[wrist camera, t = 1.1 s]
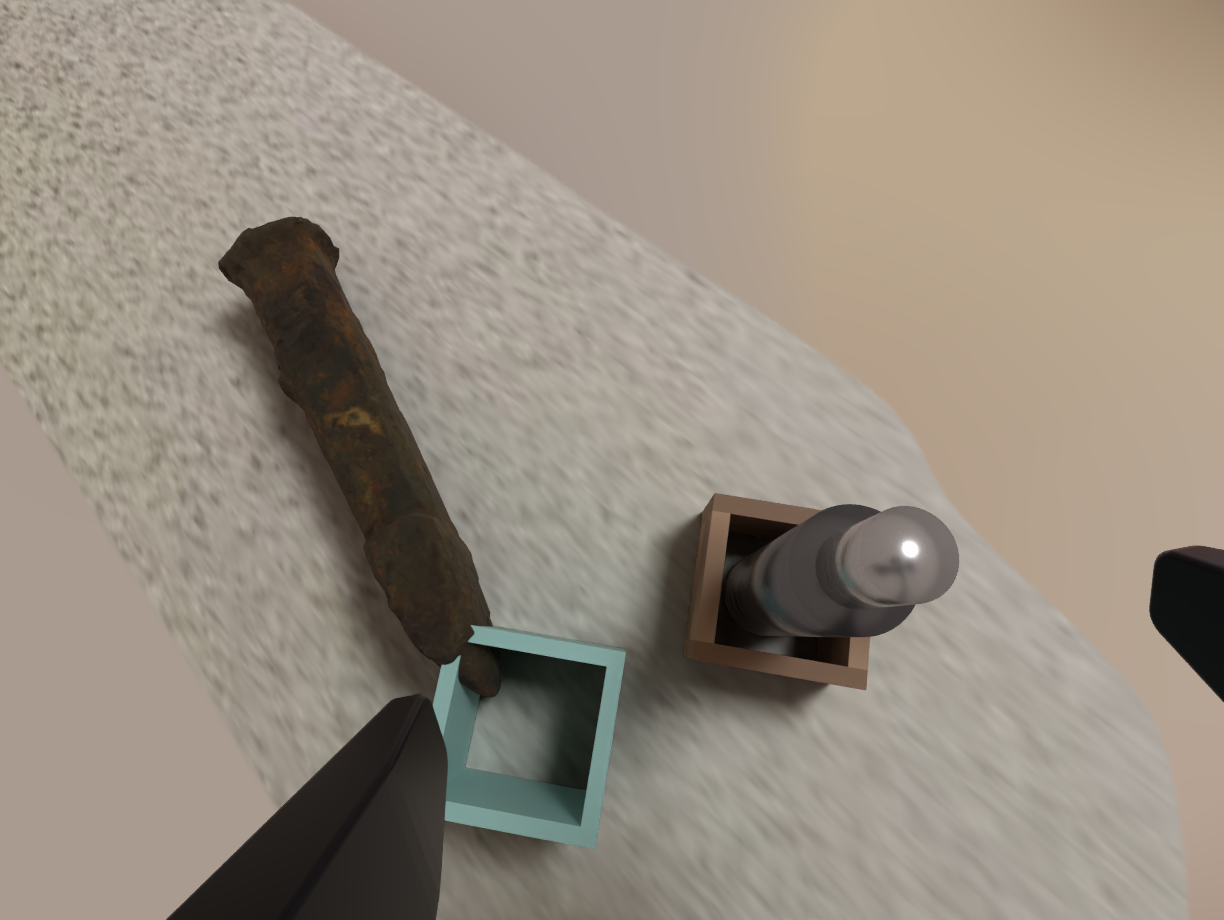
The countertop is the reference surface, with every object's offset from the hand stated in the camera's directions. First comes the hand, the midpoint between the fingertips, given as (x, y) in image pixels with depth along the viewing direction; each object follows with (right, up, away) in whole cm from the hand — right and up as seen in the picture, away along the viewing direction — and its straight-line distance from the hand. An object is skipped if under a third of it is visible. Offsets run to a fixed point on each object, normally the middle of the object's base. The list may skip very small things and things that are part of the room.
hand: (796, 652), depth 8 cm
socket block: (+3, -3, +17) cm, 17 cm away
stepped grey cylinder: (+3, -3, +17) cm, 17 cm away
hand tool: (-10, +2, +18) cm, 21 cm away
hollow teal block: (-5, -7, +16) cm, 18 cm away
